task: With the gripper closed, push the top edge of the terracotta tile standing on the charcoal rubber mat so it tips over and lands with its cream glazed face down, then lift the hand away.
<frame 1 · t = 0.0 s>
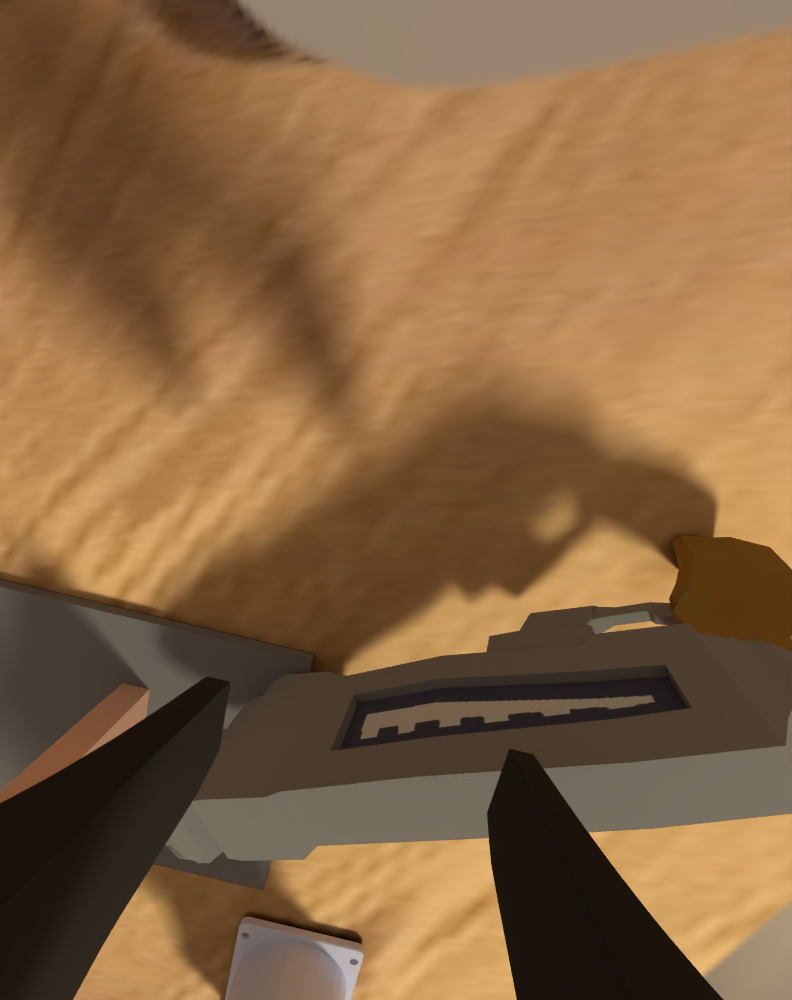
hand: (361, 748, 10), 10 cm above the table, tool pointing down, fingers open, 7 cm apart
mat: (137, 738, 22), on the table
tile: (129, 747, 21), point 1 cm above the table, touching mat
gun: (456, 637, 20), on the table, touching mat
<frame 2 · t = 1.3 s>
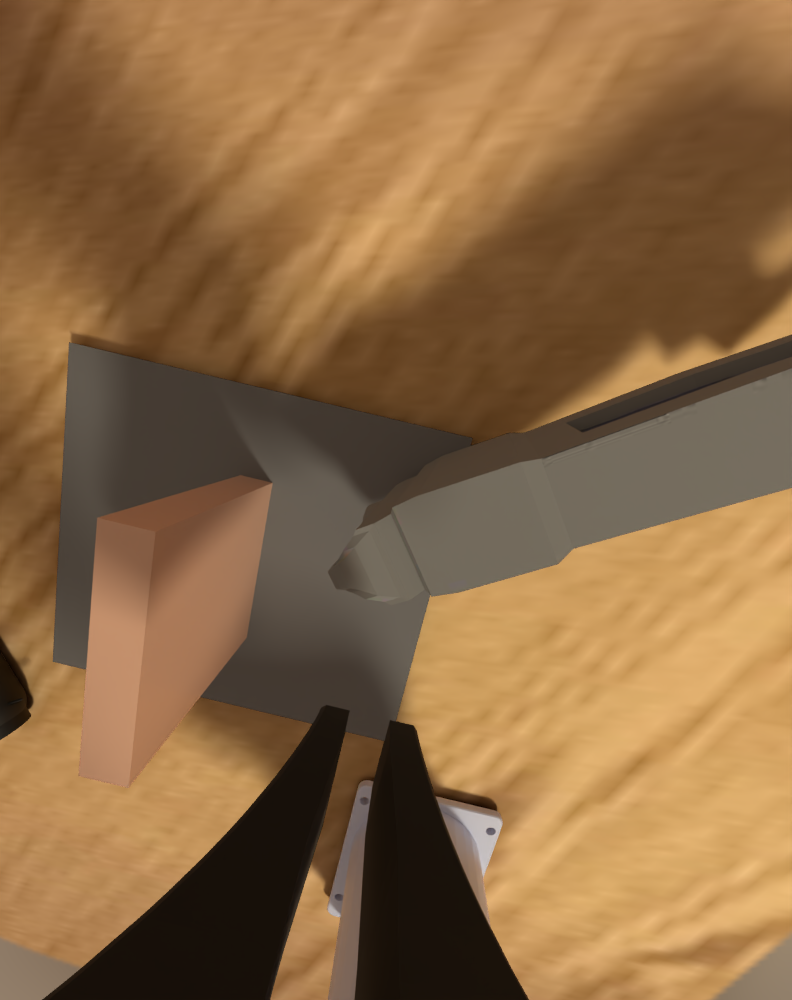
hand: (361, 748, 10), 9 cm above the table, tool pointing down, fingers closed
mat: (249, 555, 19), on the table
tile: (243, 559, 18), point 1 cm above the table, touching mat
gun: (649, 406, 16), on the table, touching mat
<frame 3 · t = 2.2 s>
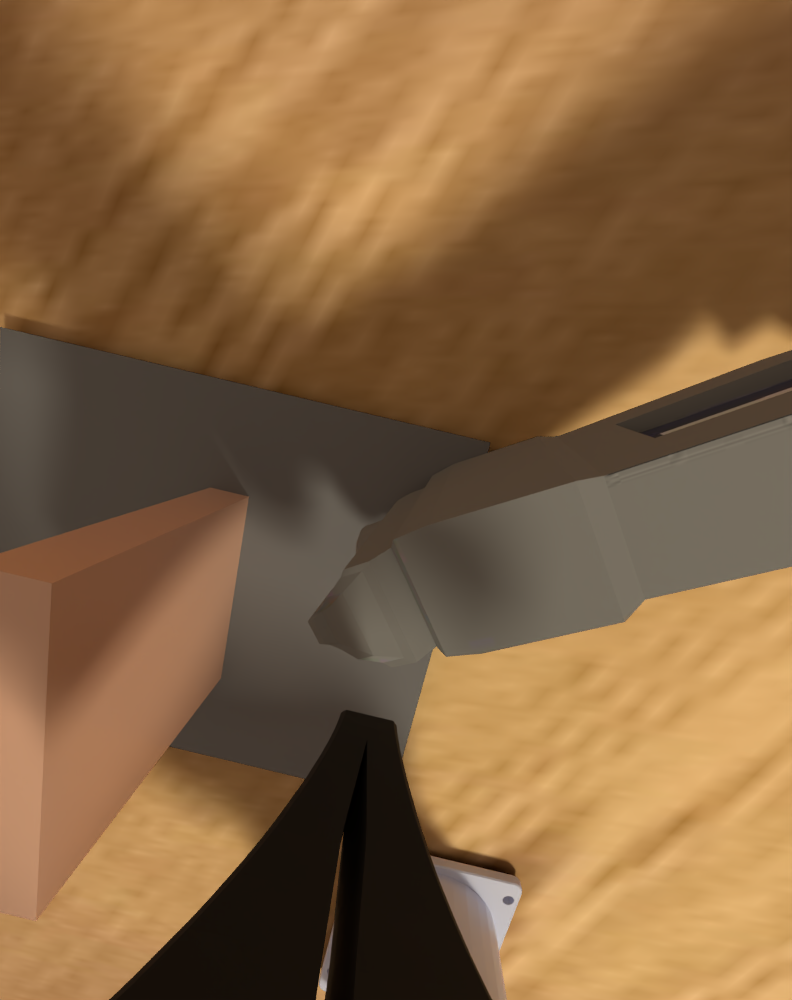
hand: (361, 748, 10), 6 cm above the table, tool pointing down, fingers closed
mat: (223, 581, 16), on the table
tile: (215, 587, 15), point 1 cm above the table, touching mat
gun: (706, 403, 13), on the table, touching mat
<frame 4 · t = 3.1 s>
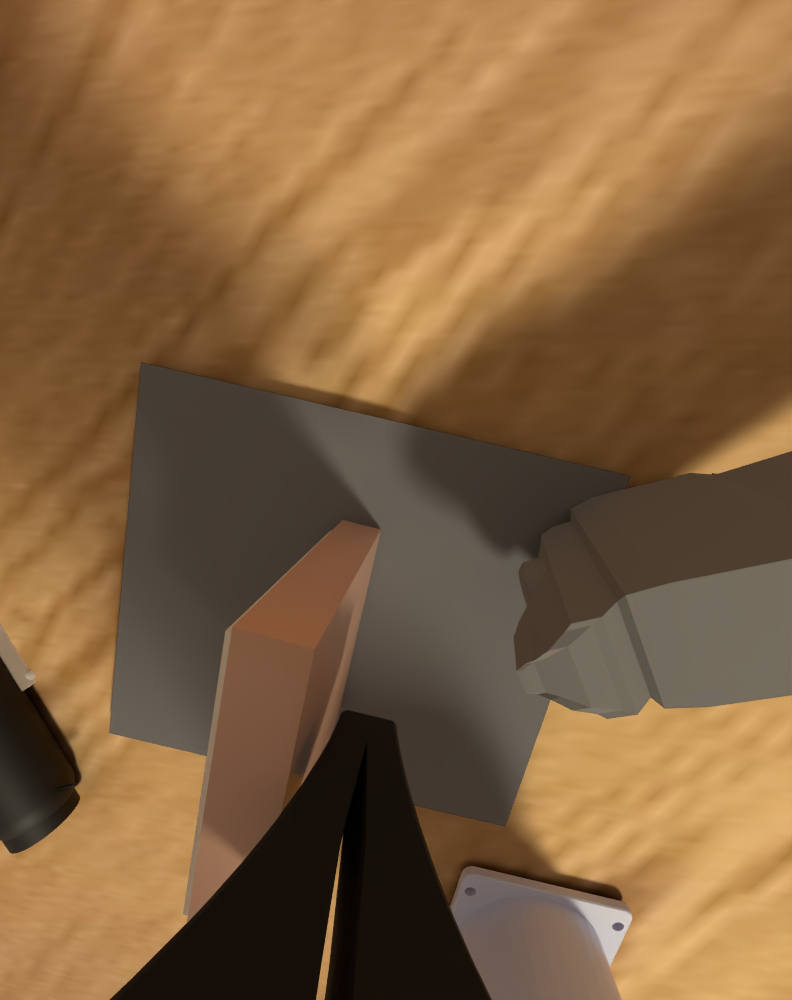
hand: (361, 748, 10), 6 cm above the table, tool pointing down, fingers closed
mat: (344, 611, 16), on the table
tile: (341, 618, 15), point 1 cm above the table, touching mat
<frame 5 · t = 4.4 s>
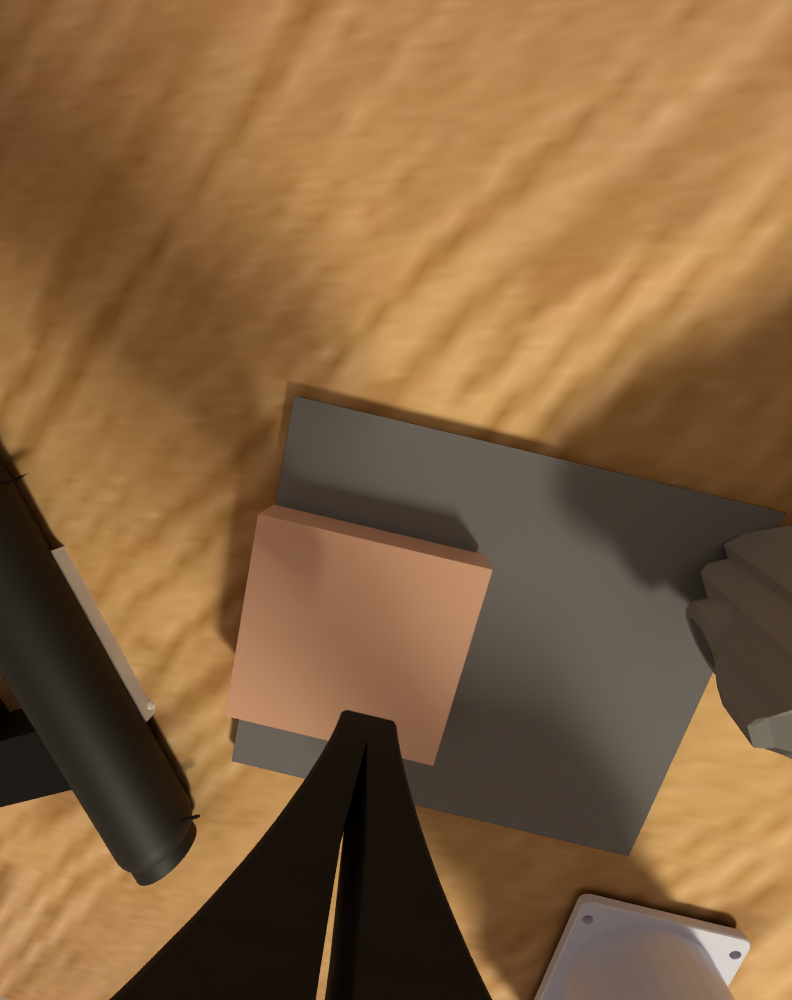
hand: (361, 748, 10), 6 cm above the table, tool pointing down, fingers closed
mat: (476, 641, 16), on the table
tile: (458, 660, 14), point 2 cm above the table, tilted 90°, touching mat
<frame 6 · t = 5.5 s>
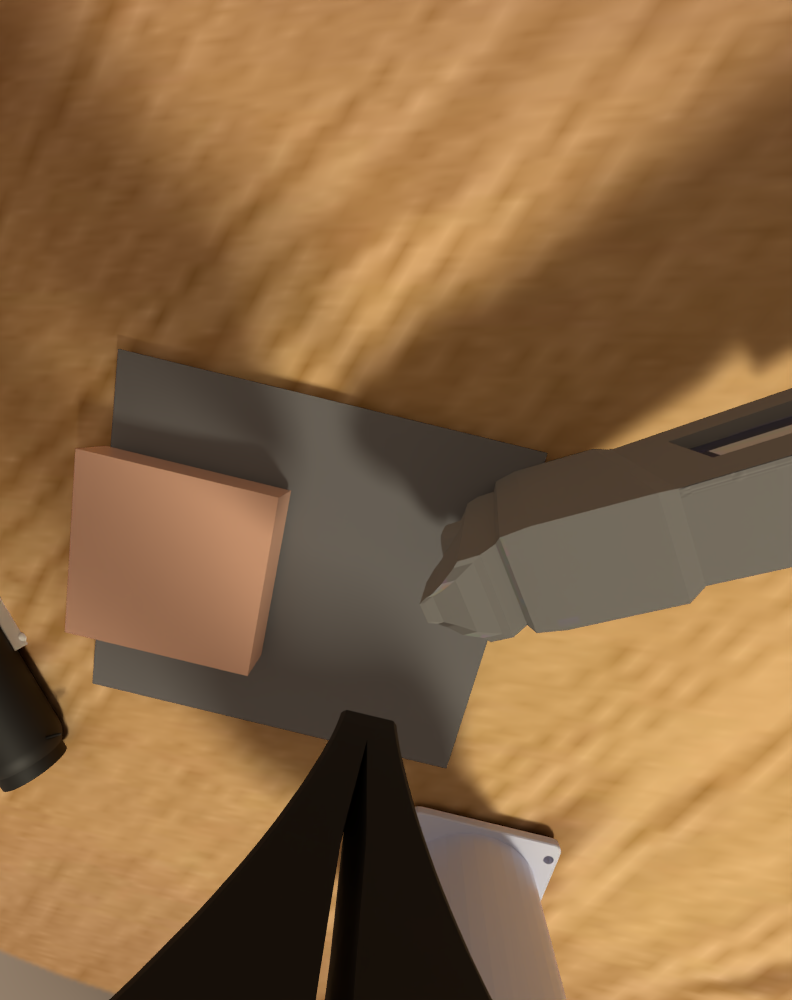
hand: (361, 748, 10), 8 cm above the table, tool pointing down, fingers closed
mat: (302, 573, 18), on the table
tile: (269, 583, 16), point 2 cm above the table, tilted 90°, touching mat
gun: (736, 420, 15), on the table, touching mat
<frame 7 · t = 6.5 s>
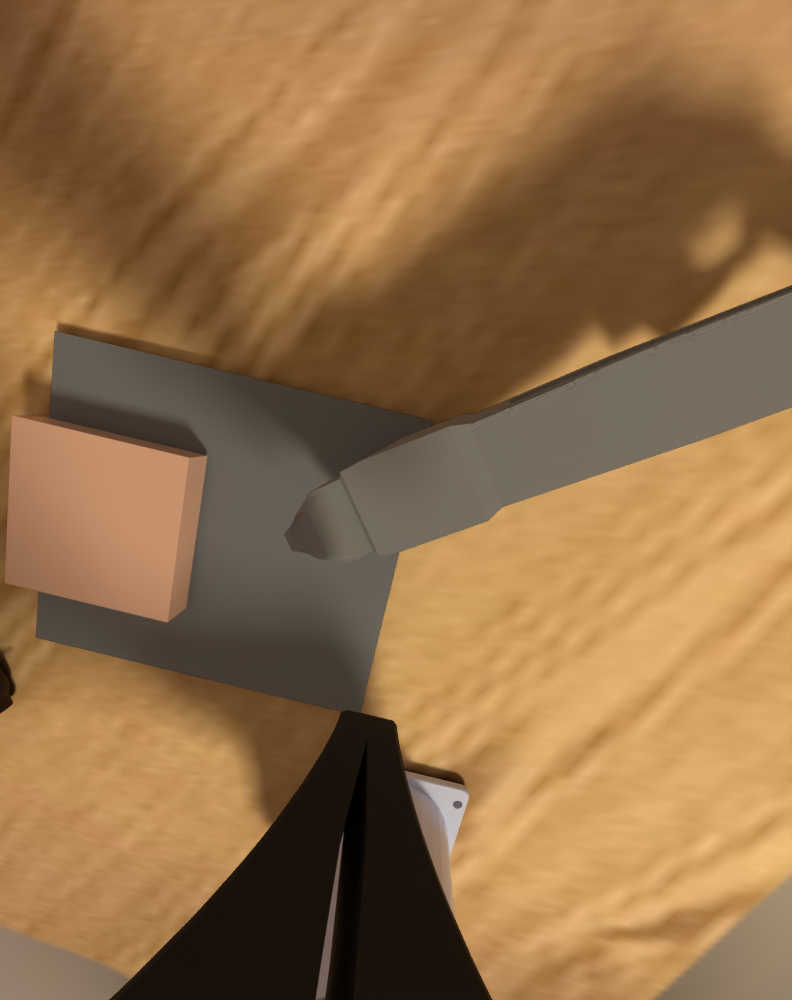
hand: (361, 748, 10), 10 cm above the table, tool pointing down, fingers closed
mat: (224, 534, 20), on the table
tile: (187, 539, 18), point 2 cm above the table, tilted 90°, touching mat
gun: (596, 390, 17), on the table, touching mat
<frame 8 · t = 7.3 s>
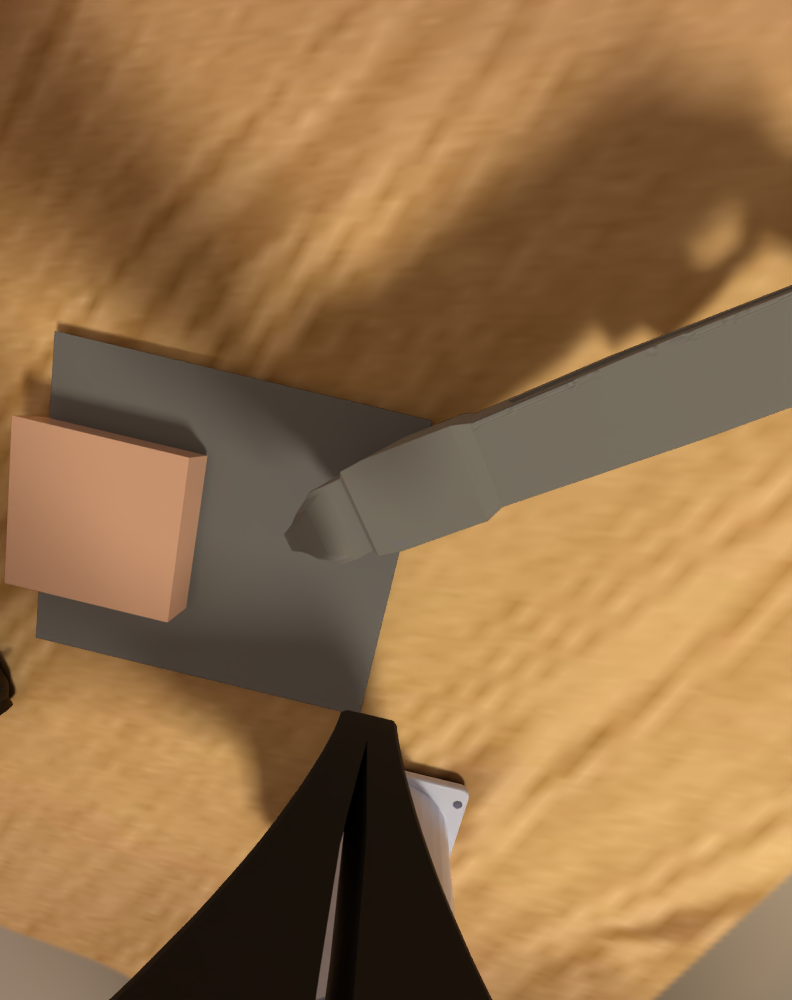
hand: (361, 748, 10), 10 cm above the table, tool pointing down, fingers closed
mat: (224, 534, 20), on the table
tile: (187, 539, 18), point 2 cm above the table, tilted 90°, touching mat
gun: (596, 390, 17), on the table, touching mat
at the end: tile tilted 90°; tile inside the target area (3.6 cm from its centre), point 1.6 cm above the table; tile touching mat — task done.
